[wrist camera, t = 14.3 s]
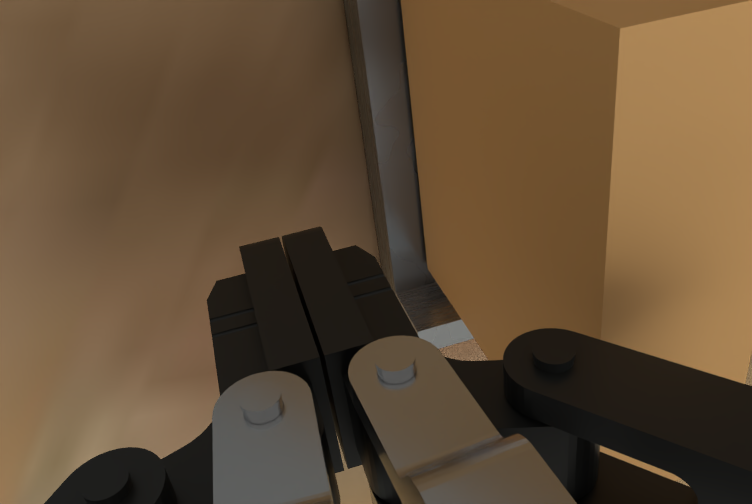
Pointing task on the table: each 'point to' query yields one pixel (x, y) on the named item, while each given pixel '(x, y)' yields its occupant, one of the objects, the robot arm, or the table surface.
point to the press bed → (396, 167)
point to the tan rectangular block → (589, 171)
